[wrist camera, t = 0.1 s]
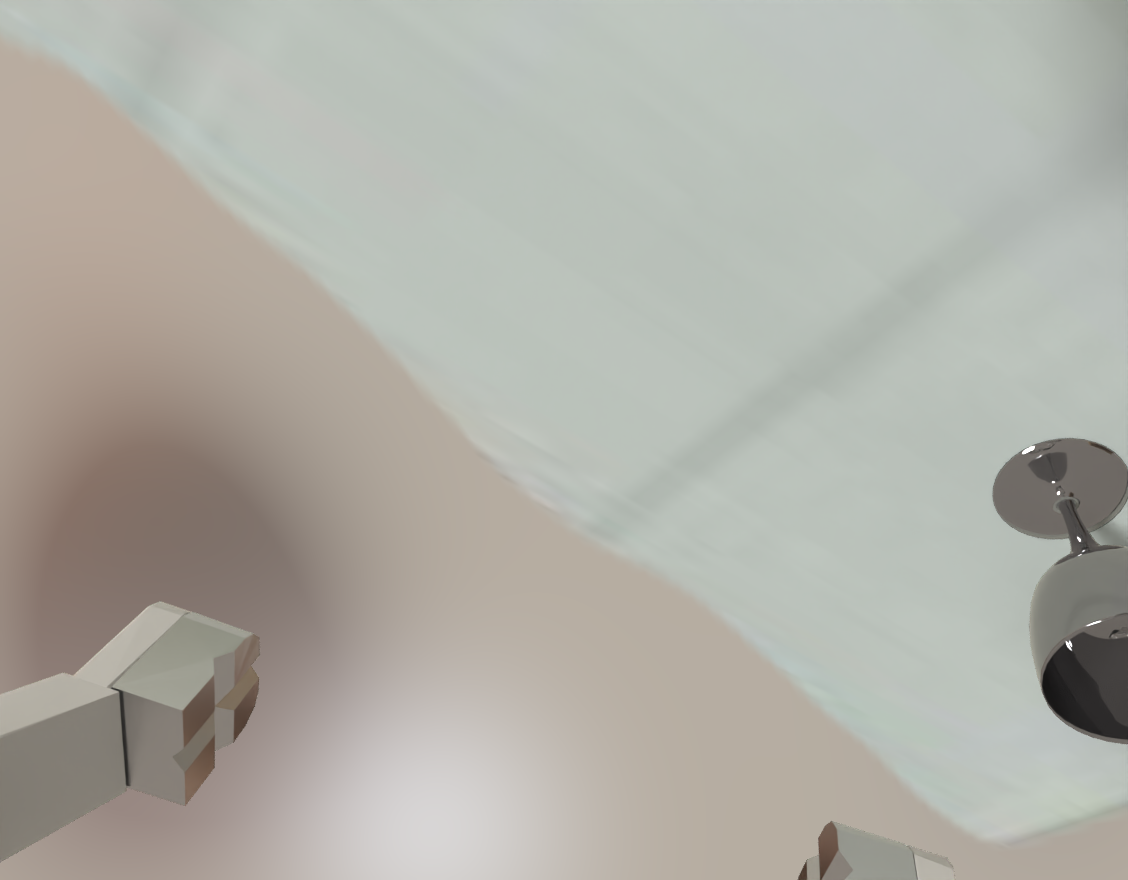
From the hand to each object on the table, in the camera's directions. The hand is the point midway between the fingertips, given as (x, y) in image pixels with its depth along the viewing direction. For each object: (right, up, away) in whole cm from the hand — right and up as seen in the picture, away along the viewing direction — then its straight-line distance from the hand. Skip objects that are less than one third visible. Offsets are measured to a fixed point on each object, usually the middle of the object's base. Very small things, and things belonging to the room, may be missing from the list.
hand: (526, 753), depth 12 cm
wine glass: (+30, +2, +38) cm, 48 cm away
